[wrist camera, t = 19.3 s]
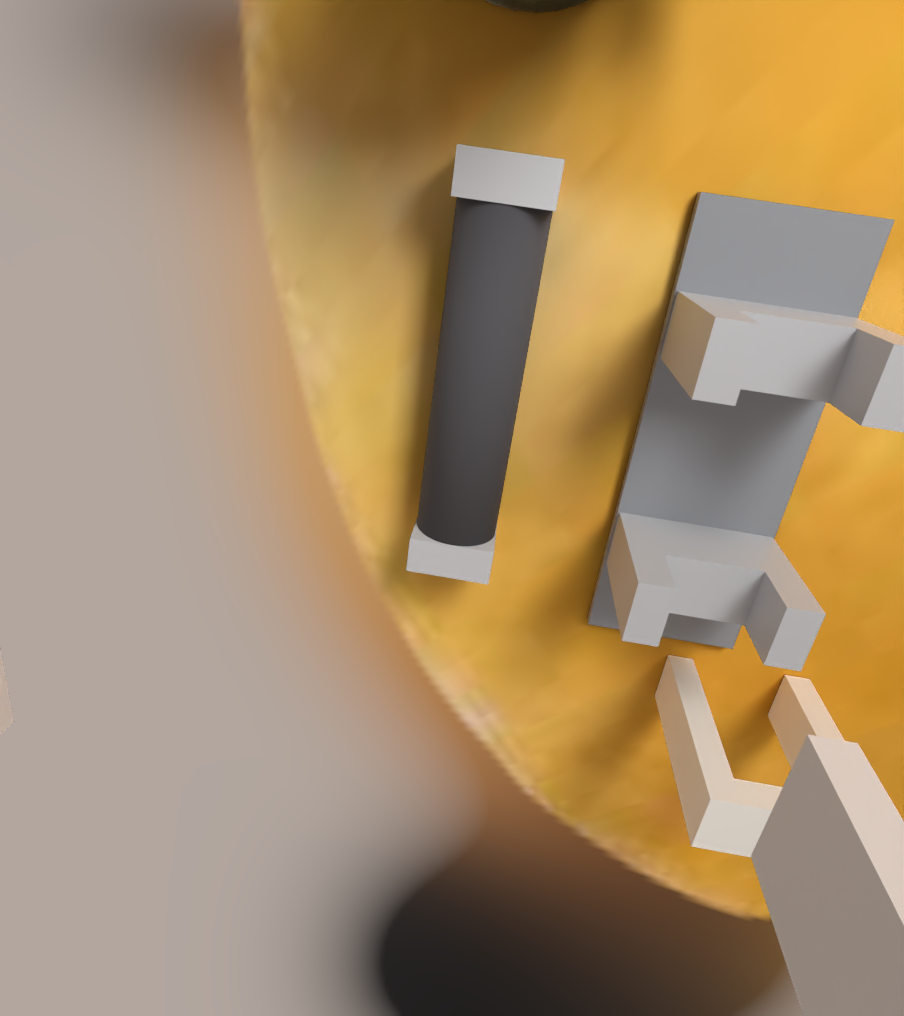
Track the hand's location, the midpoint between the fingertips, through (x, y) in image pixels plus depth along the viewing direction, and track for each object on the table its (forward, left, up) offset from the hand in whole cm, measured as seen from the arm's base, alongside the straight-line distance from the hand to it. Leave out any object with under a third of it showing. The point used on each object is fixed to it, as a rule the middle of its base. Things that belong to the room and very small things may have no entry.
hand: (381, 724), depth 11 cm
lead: (0, 0, -25) cm, 25 cm away
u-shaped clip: (+16, +17, -25) cm, 34 cm away
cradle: (+2, +12, -25) cm, 27 cm away
